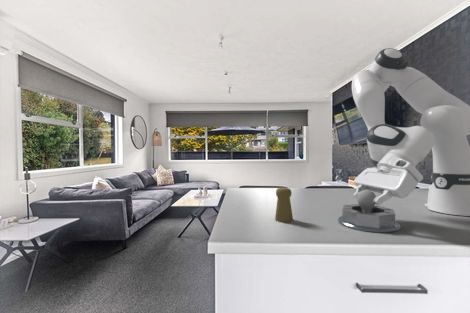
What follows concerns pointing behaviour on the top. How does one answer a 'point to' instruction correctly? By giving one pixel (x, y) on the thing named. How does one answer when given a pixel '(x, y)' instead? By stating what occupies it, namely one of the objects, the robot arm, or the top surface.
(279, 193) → the cork
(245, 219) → the top surface
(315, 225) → the top surface
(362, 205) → the light bulb
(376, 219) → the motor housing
